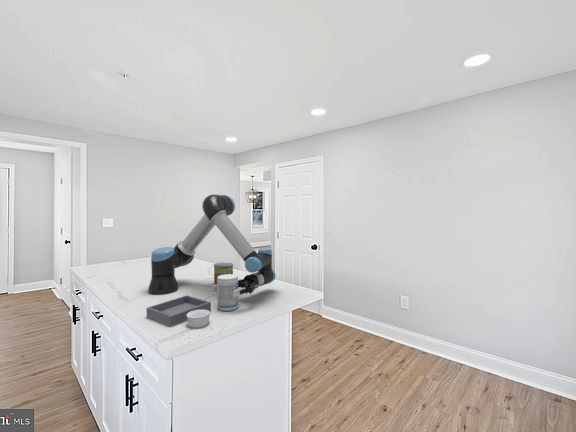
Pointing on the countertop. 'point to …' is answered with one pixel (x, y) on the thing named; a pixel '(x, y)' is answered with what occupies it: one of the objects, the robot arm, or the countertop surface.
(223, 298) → the supplement tub
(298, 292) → the countertop surface
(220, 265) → the canned food
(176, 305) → the tray
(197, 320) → the ramekin
